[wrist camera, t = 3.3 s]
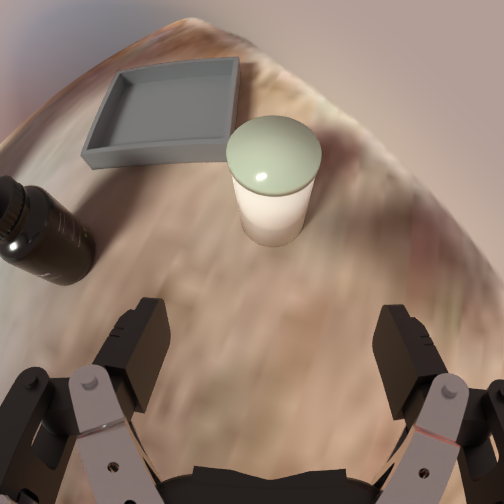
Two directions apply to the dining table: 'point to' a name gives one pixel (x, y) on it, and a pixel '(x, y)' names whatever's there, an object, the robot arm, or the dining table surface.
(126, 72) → the tray
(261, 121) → the green capped canister
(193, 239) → the dining table surface
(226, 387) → the dining table surface
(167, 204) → the dining table surface
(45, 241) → the supplement bottle
